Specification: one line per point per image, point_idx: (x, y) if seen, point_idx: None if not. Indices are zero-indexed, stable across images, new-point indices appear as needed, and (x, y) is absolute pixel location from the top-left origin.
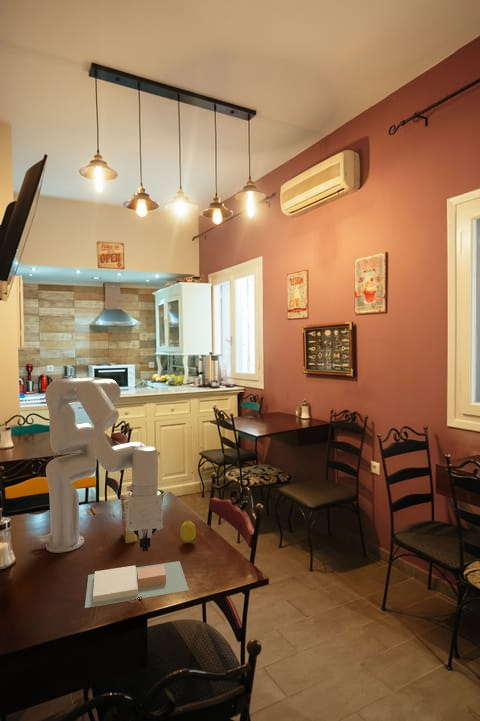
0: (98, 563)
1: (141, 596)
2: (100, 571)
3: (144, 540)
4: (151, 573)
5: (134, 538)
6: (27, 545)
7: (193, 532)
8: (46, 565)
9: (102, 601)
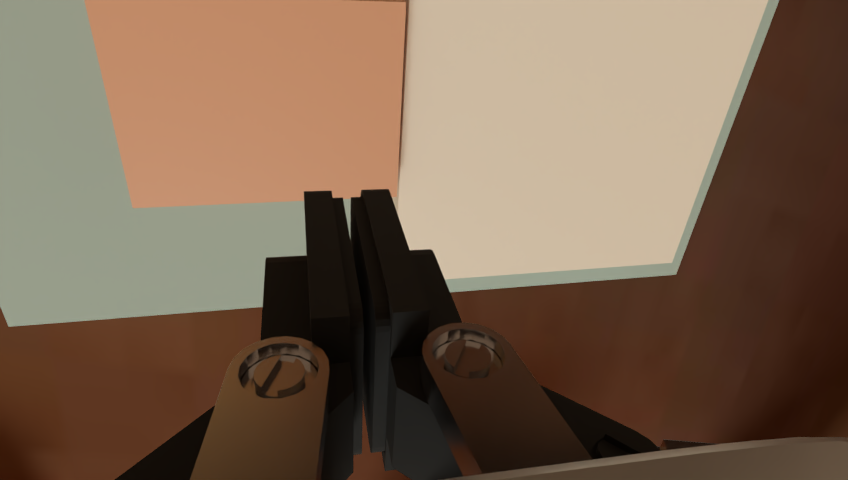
0: (586, 383)
1: None
2: (641, 254)
3: (383, 298)
4: (261, 75)
5: None
6: None
7: None
8: (803, 399)
9: None
